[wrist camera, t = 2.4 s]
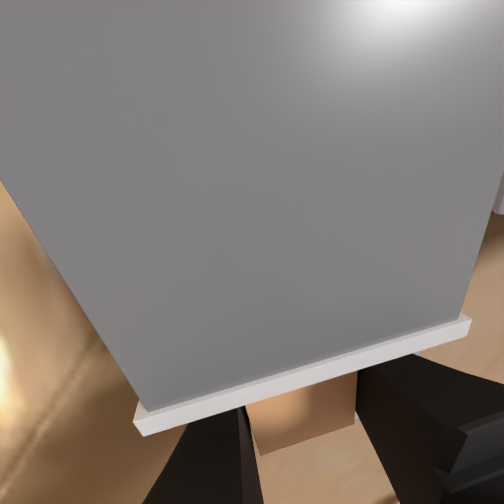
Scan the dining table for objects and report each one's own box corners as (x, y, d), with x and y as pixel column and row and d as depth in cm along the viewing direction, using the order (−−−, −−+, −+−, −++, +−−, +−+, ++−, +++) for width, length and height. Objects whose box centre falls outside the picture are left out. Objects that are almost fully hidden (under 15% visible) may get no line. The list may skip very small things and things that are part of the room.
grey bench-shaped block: (332, 86, 9) (607, -71, 3) (333, 245, 12) (466, 336, 6) (118, 120, 8) (-164, 3, 2) (178, 282, 11) (143, 436, 5)
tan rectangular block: (285, 161, 10) (369, 165, 5) (301, 328, 14) (354, 423, 9) (196, 179, 9) (184, 204, 4) (240, 345, 13) (260, 455, 8)
